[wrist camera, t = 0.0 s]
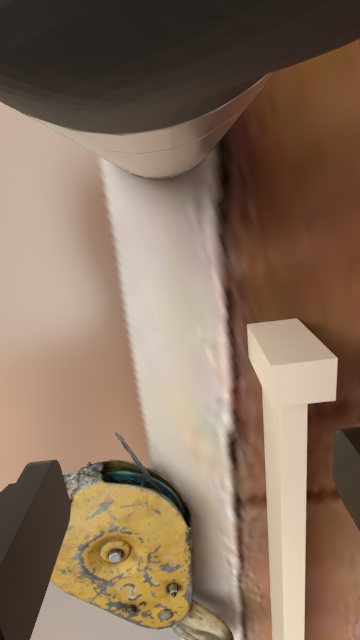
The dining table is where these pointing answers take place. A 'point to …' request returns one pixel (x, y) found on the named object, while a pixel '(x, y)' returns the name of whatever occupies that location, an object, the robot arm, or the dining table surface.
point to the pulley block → (133, 549)
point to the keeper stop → (288, 453)
